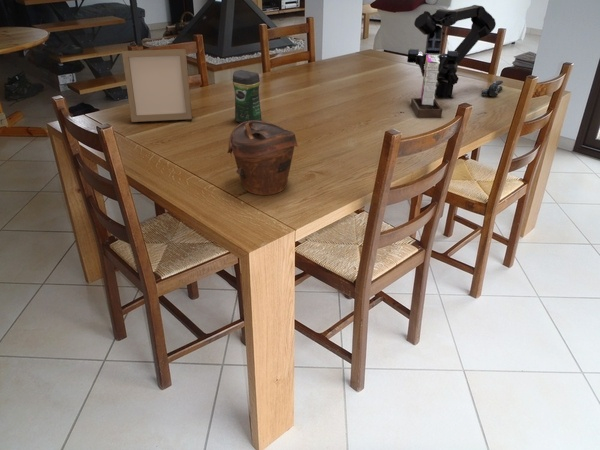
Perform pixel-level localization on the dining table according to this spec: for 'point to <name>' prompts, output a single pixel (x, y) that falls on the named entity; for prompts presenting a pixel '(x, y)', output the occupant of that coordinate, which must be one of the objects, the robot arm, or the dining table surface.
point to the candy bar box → (430, 79)
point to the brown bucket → (262, 155)
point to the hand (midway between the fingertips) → (430, 76)
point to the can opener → (492, 89)
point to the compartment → (426, 113)
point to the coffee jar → (246, 96)
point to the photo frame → (157, 84)
